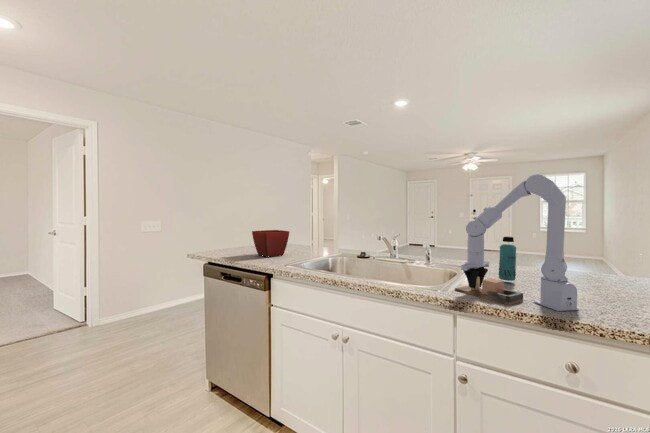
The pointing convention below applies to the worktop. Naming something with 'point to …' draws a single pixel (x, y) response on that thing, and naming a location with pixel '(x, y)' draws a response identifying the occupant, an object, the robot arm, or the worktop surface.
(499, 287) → the clay block
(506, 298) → the lane shelf
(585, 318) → the worktop surface
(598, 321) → the worktop surface
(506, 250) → the beverage bottle
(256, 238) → the plant pot
